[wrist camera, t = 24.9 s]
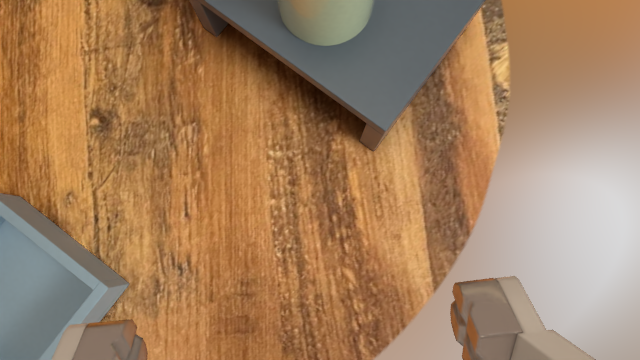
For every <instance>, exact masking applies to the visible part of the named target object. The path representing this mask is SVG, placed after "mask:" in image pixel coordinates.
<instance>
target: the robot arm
mask: <svg viewBox="0 0 640 360" xmlns="http://www.w3.org/2000/svg"><path fill="white" fill-rule="evenodd" d="M453 295H454V298H455V301H454V302H453V303H452V304H451V313H450V314H451V324H452V328H453V332H454V335H455V338H456V341H458V342H459V343H460V344H461V345H462V346H463V353H462V358H463V360H595V359H594V358H592V357H591V356H590V355H588V354H587V353H585V352H584V351H582V350H581V349H580V348H578V347H576V346H575V345H574V344H572V343H571V342H569V341H568V340H567V339H565V338H564V337H562V336H561V335H559V334H558V333H557V332H555V331H554V330H546V328H545V327H544V325H543V323H542V321H541V319H540V317H539V315H538V314H537V312H536V310H535V308H534V306H533V304H532V303H531V301H530V299H529V297H528V295H527V294H526V292H525V290H524V288H523V286H522V285H521V283H520V281H519V279H518V278H516V277H515V276H512V277H503V278H495V279H493V278H490V279H482V280H474V281H466V282H458V283H455V284H454V286H453ZM136 329H137V326H136V325H135V323H134V321H133V320H119V321H107V322H95V323H85V324H75V325H69V326H68V327H67V328H66V329H65V330H64V332H63V334H62V337H61V339H60V341H59V343H58V346H57V348H56V350H55V352H54V355H53V357H52V359H51V360H147V348H146V344H145V342H144V340H143V338H141V337H139V336H138V335H136V334H135V333H136Z"/></svg>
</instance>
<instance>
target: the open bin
mask: <svg viewBox="0 0 640 360" xmlns="http://www.w3.org/2000/svg"><path fill="white" fill-rule="evenodd" d="M128 285H129V283H128V282H127V281H126V280H124V279H123V278H122V277H121V276H119V275H118V274H117V273H116V272H114V271H113V270H112V269H111V268H109V267H108V266H107V265H105V264H104V263H103V262H102V261H100V260H99V259H98V258H97V257H95V256H94V255H93V254H92V253H90V252H89V251H88V250H87V249H85V248H84V247H83V246H82V245H80V244H79V243H78V242H77V241H75V240H74V239H73V238H72V237H70V236H69V235H68V234H67V233H65V232H64V231H63V230H62V229H60V228H59V227H58V226H57V225H55V224H54V223H53V222H52V221H50V220H49V219H48V218H47V217H45V216H44V215H43V214H42V213H40V212H39V211H38V210H37V209H35V208H34V207H33V206H32V205H30V204H29V203H28V202H27V201H25V200H24V199H23V198H21V197H20V196H14V195H8V194H2V193H0V360H51V359H52V357H53V355H54V352H55V350H56V348H57V346H58V343H59V341H60V339H61V337H62V334H63V332H64V330H65V329H66V328H67V327H68V326H69V325H75V324H85V323H95V322H100V321H101V320H102V318H103V317H104V316H105V314H106V313H107V312H108V311H109V309H110V308H111V307H112V306H113V304H114V303H115V302H116V301H117V299H118V298H119V297H120V295H121V294H122V293H123V292H124V290H125V289H126V288H127V287H128Z"/></svg>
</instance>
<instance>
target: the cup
mask: <svg viewBox="0 0 640 360" xmlns="http://www.w3.org/2000/svg"><path fill="white" fill-rule="evenodd" d="M276 1H277V7H278V11H279V14H280V17H281V19H282V21H283V23H284V24H285V26H286V27H287V29H288V30H289V31H290V32H291V33H292V34H294V35H295V36H296V37H298V38H299V39H301V40H303V41H305V42H307V43H311V44H314V45H320V46H331V45H337V44H341V43H343V42H346V41H348V40H350V39H352V38H353V37H355V36H356V35H357V34H358V33H360V32H361V31H362V29H363V28H364V27H365V26H366V24H367V23H368V21H369V19H370V17H371V14H372V11H373V7H374V2H375V0H276Z"/></svg>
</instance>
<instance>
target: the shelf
mask: <svg viewBox="0 0 640 360" xmlns="http://www.w3.org/2000/svg"><path fill="white" fill-rule="evenodd" d="M189 1H190V3H191V5H192V7H193V8H194V10H195V12H196V14H197V16H198V18H199V20H200V22H201V23H202V25H203V27H204V28H205V29H206V30H208V31H209V32H210V33H212V34H213V35H214V36H216V37H218V35H219V34H220V33H221V32H222V31H223V29H224V28H225V27H226V26H227V24H228V23H229V24H230V25H232V26H233V27H234V28H236V29H237V30H239V31H240V32H241V33H243V34H244V35H245V36H247V37H248V38H250V39H251V40H252V41H254V42H255V43H256V44H258V45H259V46H261V47H262V48H263V49H265V50H266V51H268V52H269V53H270V54H272V55H273V56H274V57H276V58H277V59H279V60H280V61H281V62H283V63H284V64H285V65H287V66H288V67H290V68H291V69H292V70H294V71H295V72H297V73H298V74H299V75H301V76H302V77H303V78H305V79H306V80H308V81H309V82H310V83H312V84H313V85H314V86H316V87H317V88H319V89H320V90H321V91H323V92H324V93H326V94H327V95H328V96H330V97H331V98H332V99H334V100H335V101H337V102H338V103H339V104H341V105H342V106H343V107H345V108H346V109H348V110H349V111H350V112H352V113H353V114H354V115H356V116H357V117H359V118H360V119H361V120H363V121H364V122H366V126H365V128H364V131H363V133H362V136H361V138H360V142H361V143H363V144H364V145H365V146H367V147H368V148H370V149H371V150H372V151H375V150H376V148H377V147H378V146H379V144H380V143H381V142H382V140H383V139H384V138H385V136H386V135H387V134H388V132H389V131H390V129H391V128H392V127H393V125H394V124H395V123H396V121H397V120H398V119H399V117H400V116H401V115H402V113H403V112H404V111H405V109H406V108H407V107H408V105H409V104H410V103H411V101H412V100H413V99H414V97H415V96H416V95H417V93H418V92H419V91H420V89H421V88H422V87H423V85H424V84H425V83H426V81H427V80H428V79H429V77H430V76H431V75H432V73H433V72H434V71H435V69H436V68H437V67H438V65H439V64H440V63H441V61H442V60H443V59H444V57H445V56H446V55H447V53H448V52H449V51H450V49H451V48H452V47H453V45H454V44H455V43H456V41H457V40H458V39H459V37H460V36H461V35H462V33H463V32H464V31H465V29H466V28H467V26H468V25H469V24H470V22H471V21H472V19H473V18H474V17H475V15H476V14H477V12H478V11H479V9H480V8H481V6H482V5H483V3H484V2H485V0H375V2H374V7H373V11H372V14H371V17H370V19H369V21H368V23H367V24H366V26H365V27H364V28H363V29H362V31H361V32H360V33H358V34H357V35H356V36H355V37H353V38H352V39H350V40H348V41H346V42H343V43H341V44H337V45H331V46H320V45H314V44H311V43H307V42H305V41H303V40H301V39H299V38H298V37H296V36H295V35H294V34H292V33H291V32H290V31H289V30H288V29H287V27H286V26H285V24H284V23H283V21H282V19H281V17H280V14H279V11H278V7H277V1H276V0H189Z"/></svg>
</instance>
